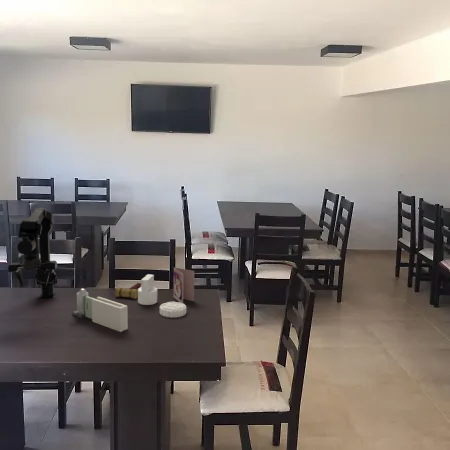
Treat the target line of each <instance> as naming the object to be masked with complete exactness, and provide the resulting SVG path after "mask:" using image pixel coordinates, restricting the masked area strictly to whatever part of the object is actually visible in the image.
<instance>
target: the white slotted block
mask: <svg viewBox="0 0 450 450" xmlns="http://www.w3.org/2000/svg"><path fill="white" fill-rule="evenodd" d="M97 299H98V300H97ZM100 300H101V301H100ZM103 301H104V302H103ZM128 311H129V310H128V305H126V304H123V303H119V302H117V301H113V300H110V299H108V298H105V297H101V296H96V298H95V299H92V319H91V321H92V323H96V324H98V325H101V326H103V327H107V328H108V329H112V330H114V331H117V332H120V333H122V332H123V331H126V330H128V325H129V324H128V322H129V321H128V317H129V316H128Z"/></svg>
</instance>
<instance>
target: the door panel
mask: <svg viewBox="0 0 450 450" xmlns="http://www.w3.org/2000/svg"><path fill="white" fill-rule="evenodd" d="M92 299H97V298H95V297H91V296H85V317H84V318H88V319H91V320H92ZM97 300H98V299H97ZM100 301H101V300H100ZM103 302H104V301H103Z"/></svg>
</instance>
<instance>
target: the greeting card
mask: <svg viewBox="0 0 450 450" xmlns="http://www.w3.org/2000/svg"><path fill="white" fill-rule="evenodd" d="M172 273H173V298H174V299H176V301H178V302H180V303H183V304H184V300H186V301H191V302H195V270H191V269H186V268H185V269H184V268H180V267H173V271H172Z"/></svg>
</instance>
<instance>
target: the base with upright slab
mask: <svg viewBox="0 0 450 450" xmlns="http://www.w3.org/2000/svg"><path fill="white" fill-rule="evenodd" d="M154 278H155V275H154V274H149V273H148V274H146V275H145V276H144V277H143V278H141V280H140V281H141V282H140V283H141V287H140V288H138V289H137V290H138V297H137V303H138V304H140V305H144V306H145V305H146V306H149V305H156V303H158V288H157V287H155V279H154Z"/></svg>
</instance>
